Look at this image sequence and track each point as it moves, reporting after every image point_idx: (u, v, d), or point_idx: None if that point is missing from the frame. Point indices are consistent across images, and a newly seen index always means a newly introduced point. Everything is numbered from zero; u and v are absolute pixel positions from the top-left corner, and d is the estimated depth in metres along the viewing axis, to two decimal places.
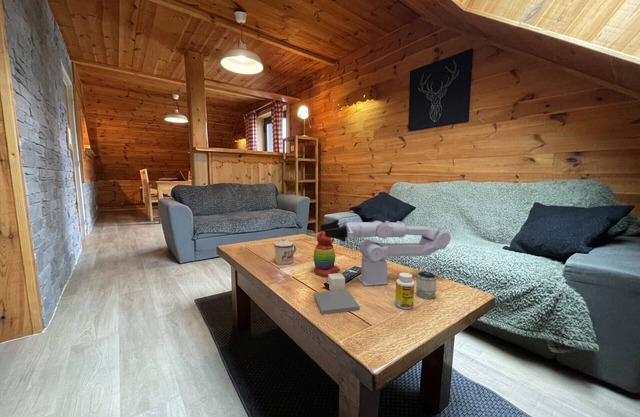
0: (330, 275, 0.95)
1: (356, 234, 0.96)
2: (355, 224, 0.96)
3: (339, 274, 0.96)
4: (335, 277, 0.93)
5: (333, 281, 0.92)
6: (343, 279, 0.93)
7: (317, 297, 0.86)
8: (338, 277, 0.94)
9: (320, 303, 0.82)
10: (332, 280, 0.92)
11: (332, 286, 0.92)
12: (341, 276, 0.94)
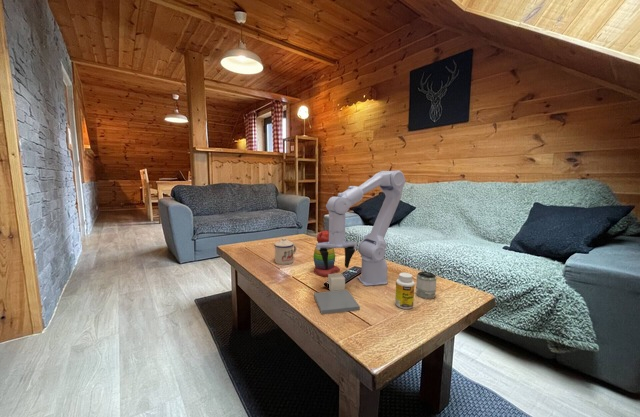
0: (330, 275, 0.95)
1: None
2: (342, 236, 0.91)
3: (339, 274, 0.96)
4: (335, 277, 0.94)
5: (333, 281, 0.92)
6: (343, 279, 0.93)
7: (317, 297, 0.86)
8: (338, 277, 0.94)
9: (320, 303, 0.82)
10: (332, 280, 0.92)
11: (331, 286, 0.92)
12: (341, 276, 0.94)
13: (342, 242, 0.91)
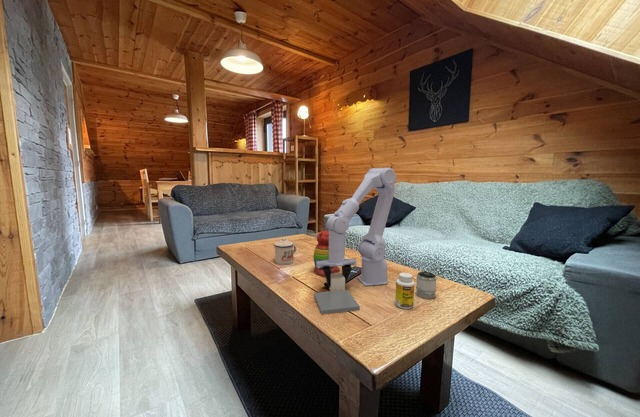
0: None
1: None
2: (342, 255, 0.92)
3: (339, 274, 0.96)
4: (335, 277, 0.93)
5: (333, 281, 0.92)
6: (343, 279, 0.93)
7: (317, 297, 0.86)
8: (338, 277, 0.94)
9: (320, 303, 0.82)
10: (332, 280, 0.92)
11: (332, 286, 0.92)
12: (341, 276, 0.94)
13: (342, 261, 0.92)
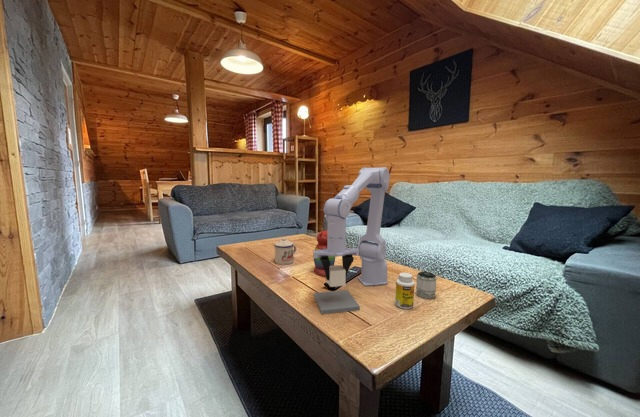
0: (329, 267, 0.85)
1: None
2: (342, 243, 0.80)
3: (339, 266, 0.86)
4: (335, 269, 0.83)
5: (332, 273, 0.81)
6: (343, 271, 0.82)
7: (317, 297, 0.86)
8: (338, 269, 0.83)
9: (320, 303, 0.82)
10: (331, 272, 0.81)
11: (330, 279, 0.81)
12: (341, 268, 0.84)
13: (342, 250, 0.81)
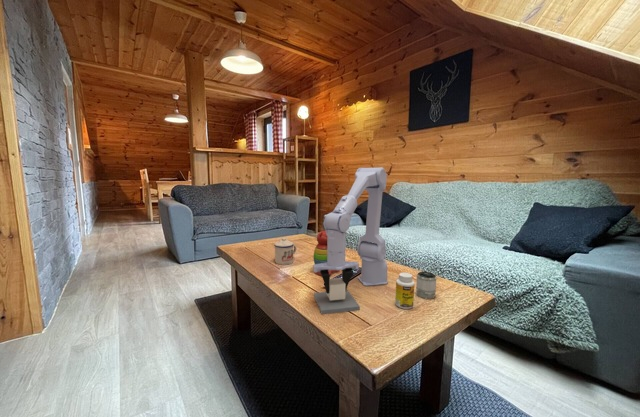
0: (329, 280, 0.85)
1: None
2: (342, 257, 0.81)
3: (339, 279, 0.86)
4: (334, 283, 0.83)
5: (332, 287, 0.82)
6: (343, 285, 0.82)
7: (317, 297, 0.86)
8: (338, 282, 0.83)
9: (320, 303, 0.82)
10: (331, 286, 0.82)
11: (330, 293, 0.82)
12: (341, 282, 0.84)
13: (342, 264, 0.81)
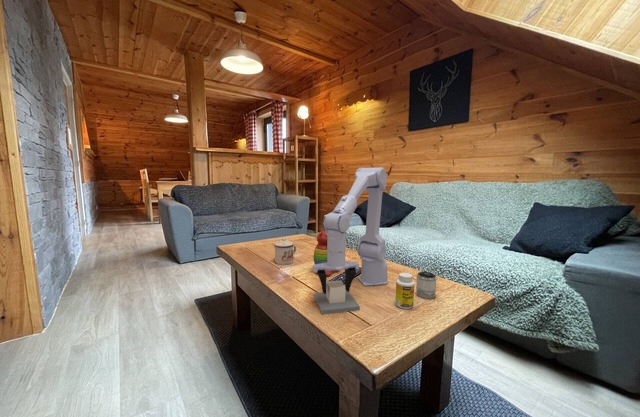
0: (329, 283, 0.85)
1: None
2: (342, 257, 0.81)
3: (339, 282, 0.86)
4: (334, 285, 0.83)
5: (332, 290, 0.82)
6: (343, 288, 0.83)
7: (317, 297, 0.86)
8: (337, 285, 0.83)
9: (320, 303, 0.82)
10: (331, 289, 0.82)
11: (330, 296, 0.82)
12: (341, 284, 0.84)
13: (342, 264, 0.81)
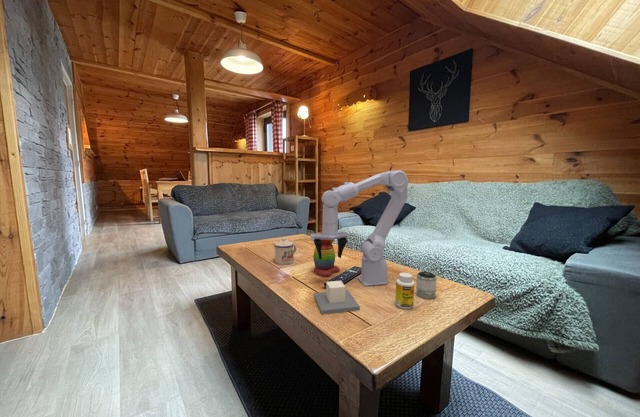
0: (329, 283, 0.85)
1: None
2: (335, 228, 0.96)
3: (339, 282, 0.86)
4: (334, 285, 0.83)
5: (332, 290, 0.82)
6: (343, 288, 0.83)
7: (317, 297, 0.86)
8: (337, 285, 0.83)
9: (320, 303, 0.82)
10: (331, 289, 0.82)
11: (330, 296, 0.82)
12: (341, 284, 0.84)
13: (335, 233, 0.96)
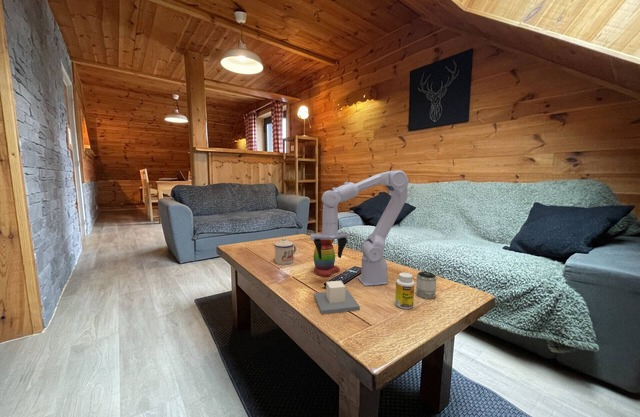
0: (329, 283, 0.85)
1: None
2: (335, 228, 0.96)
3: (339, 282, 0.86)
4: (334, 285, 0.83)
5: (332, 290, 0.82)
6: (343, 288, 0.83)
7: (317, 297, 0.86)
8: (337, 285, 0.83)
9: (320, 303, 0.82)
10: (331, 289, 0.82)
11: (330, 296, 0.82)
12: (341, 284, 0.84)
13: (335, 233, 0.96)
